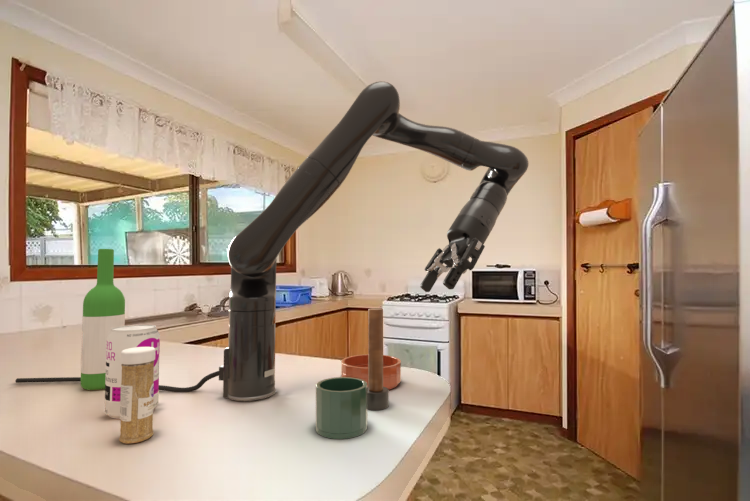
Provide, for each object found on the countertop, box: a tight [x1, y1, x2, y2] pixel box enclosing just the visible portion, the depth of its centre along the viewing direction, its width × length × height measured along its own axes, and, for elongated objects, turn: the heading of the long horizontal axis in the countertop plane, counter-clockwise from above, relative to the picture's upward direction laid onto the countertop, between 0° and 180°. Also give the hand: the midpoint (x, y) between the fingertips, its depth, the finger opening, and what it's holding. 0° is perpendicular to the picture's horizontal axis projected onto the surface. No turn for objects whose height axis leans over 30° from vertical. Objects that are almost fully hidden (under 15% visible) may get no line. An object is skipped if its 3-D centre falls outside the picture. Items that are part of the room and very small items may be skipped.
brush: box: [367, 307, 390, 411], centre depth 74 cm, size 5×5×18 cm
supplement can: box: [104, 324, 161, 420], centre depth 71 cm, size 8×8×15 cm
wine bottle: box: [80, 248, 126, 391], centre depth 87 cm, size 8×8×30 cm
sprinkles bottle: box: [118, 347, 155, 445], centre depth 60 cm, size 5×5×13 cm
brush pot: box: [315, 376, 368, 440], centre depth 64 cm, size 8×8×7 cm
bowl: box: [340, 353, 402, 390], centre depth 88 cm, size 13×13×5 cm
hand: (435, 288), depth 76 cm, fingers open, 8 cm apart
